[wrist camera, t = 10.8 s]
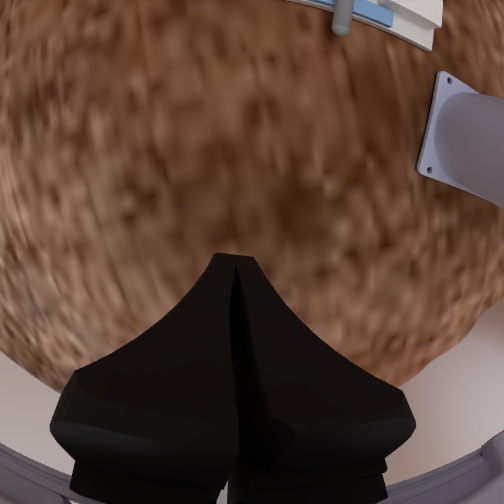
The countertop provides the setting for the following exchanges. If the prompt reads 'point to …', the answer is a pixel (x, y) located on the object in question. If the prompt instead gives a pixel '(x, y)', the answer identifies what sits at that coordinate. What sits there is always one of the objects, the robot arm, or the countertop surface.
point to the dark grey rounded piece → (342, 17)
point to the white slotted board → (395, 17)
